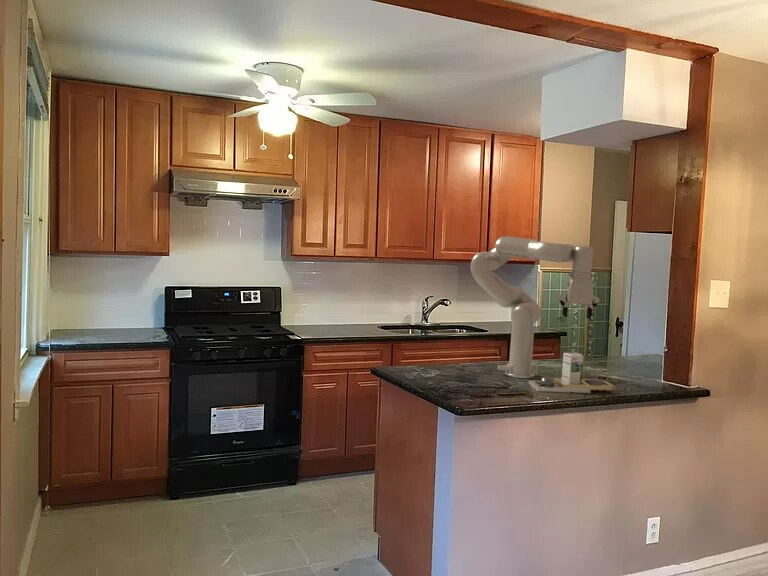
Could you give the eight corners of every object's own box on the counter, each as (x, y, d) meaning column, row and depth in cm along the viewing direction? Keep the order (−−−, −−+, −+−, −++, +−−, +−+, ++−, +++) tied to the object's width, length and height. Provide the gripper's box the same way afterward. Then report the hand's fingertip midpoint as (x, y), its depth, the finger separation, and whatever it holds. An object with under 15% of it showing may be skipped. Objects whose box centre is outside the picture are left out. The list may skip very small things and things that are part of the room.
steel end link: (537, 391, 241) (538, 381, 241) (528, 384, 253) (529, 374, 252) (590, 393, 243) (591, 383, 243) (579, 385, 254) (580, 376, 254)
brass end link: (562, 392, 242) (563, 382, 242) (552, 384, 254) (553, 375, 253) (615, 394, 244) (616, 384, 244) (602, 386, 255) (603, 377, 255)
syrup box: (568, 390, 245) (571, 354, 244) (560, 387, 251) (563, 351, 249) (581, 390, 246) (584, 355, 245) (573, 387, 252) (576, 352, 251)
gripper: (562, 275, 249) (558, 317, 251) (605, 278, 249) (600, 320, 251) (557, 273, 256) (553, 314, 258) (598, 277, 256) (594, 317, 258)
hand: (576, 317), depth 254 cm, fingers open, 9 cm apart
